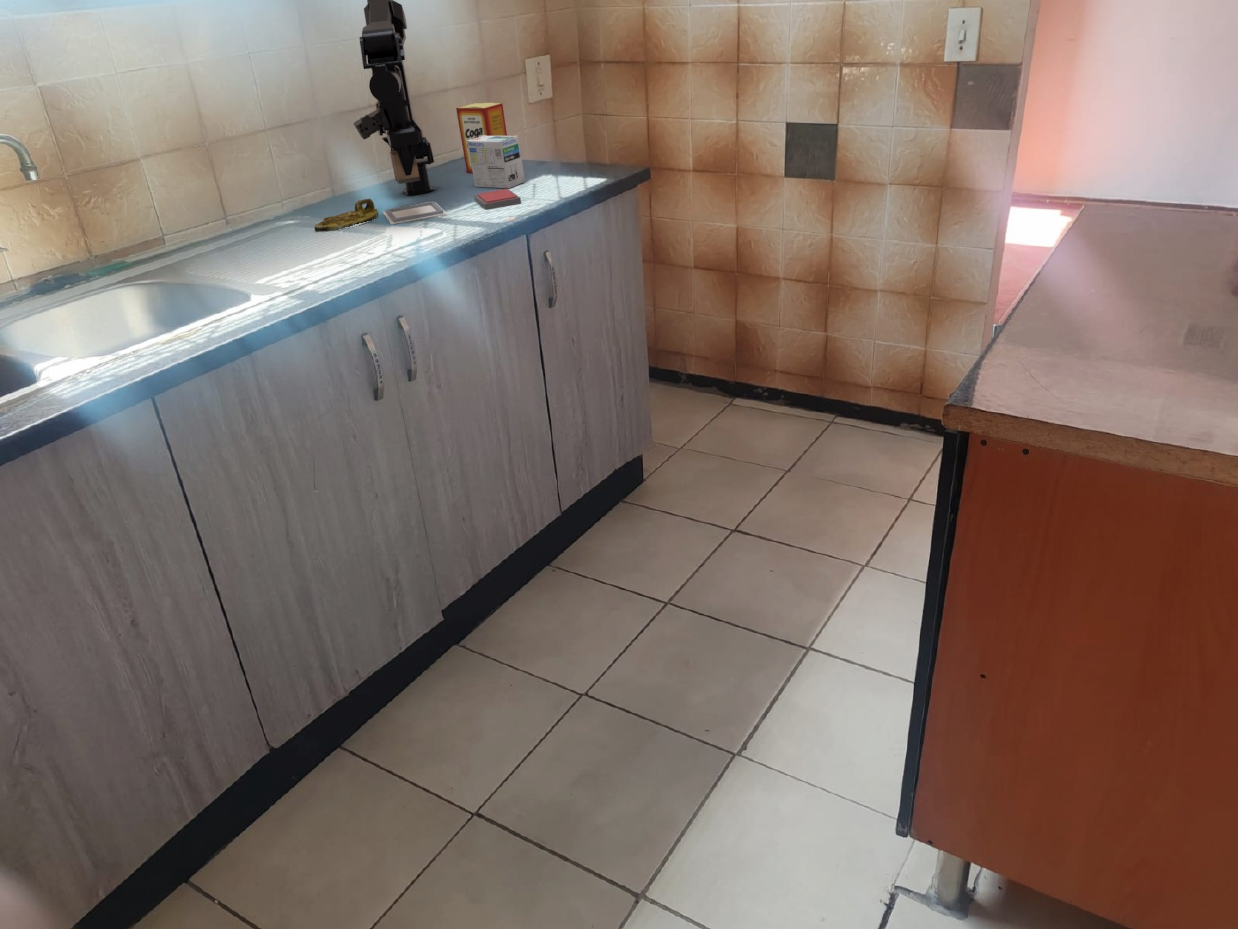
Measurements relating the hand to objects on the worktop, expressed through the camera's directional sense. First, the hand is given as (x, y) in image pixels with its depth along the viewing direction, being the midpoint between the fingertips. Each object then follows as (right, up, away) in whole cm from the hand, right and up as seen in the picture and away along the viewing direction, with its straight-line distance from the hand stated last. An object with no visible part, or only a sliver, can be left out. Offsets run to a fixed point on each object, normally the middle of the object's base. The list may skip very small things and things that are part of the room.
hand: (406, 173), depth 198 cm
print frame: (+1, -8, +4) cm, 9 cm away
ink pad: (+19, -4, +7) cm, 20 cm away
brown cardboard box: (0, -1, +1) cm, 2 cm away
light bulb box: (+17, +4, +22) cm, 28 cm away
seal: (-13, -10, +3) cm, 17 cm away
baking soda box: (+13, +12, +38) cm, 42 cm away
